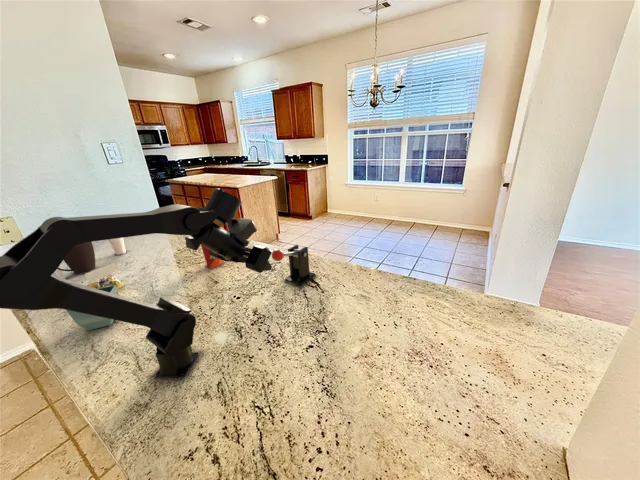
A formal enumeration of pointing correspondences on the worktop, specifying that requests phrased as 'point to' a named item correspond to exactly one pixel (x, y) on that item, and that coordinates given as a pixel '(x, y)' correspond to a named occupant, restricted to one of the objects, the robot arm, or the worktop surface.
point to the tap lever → (283, 254)
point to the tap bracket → (299, 267)
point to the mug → (80, 258)
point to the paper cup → (210, 258)
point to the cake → (104, 272)
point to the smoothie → (118, 245)
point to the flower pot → (90, 320)
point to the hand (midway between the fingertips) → (259, 264)
